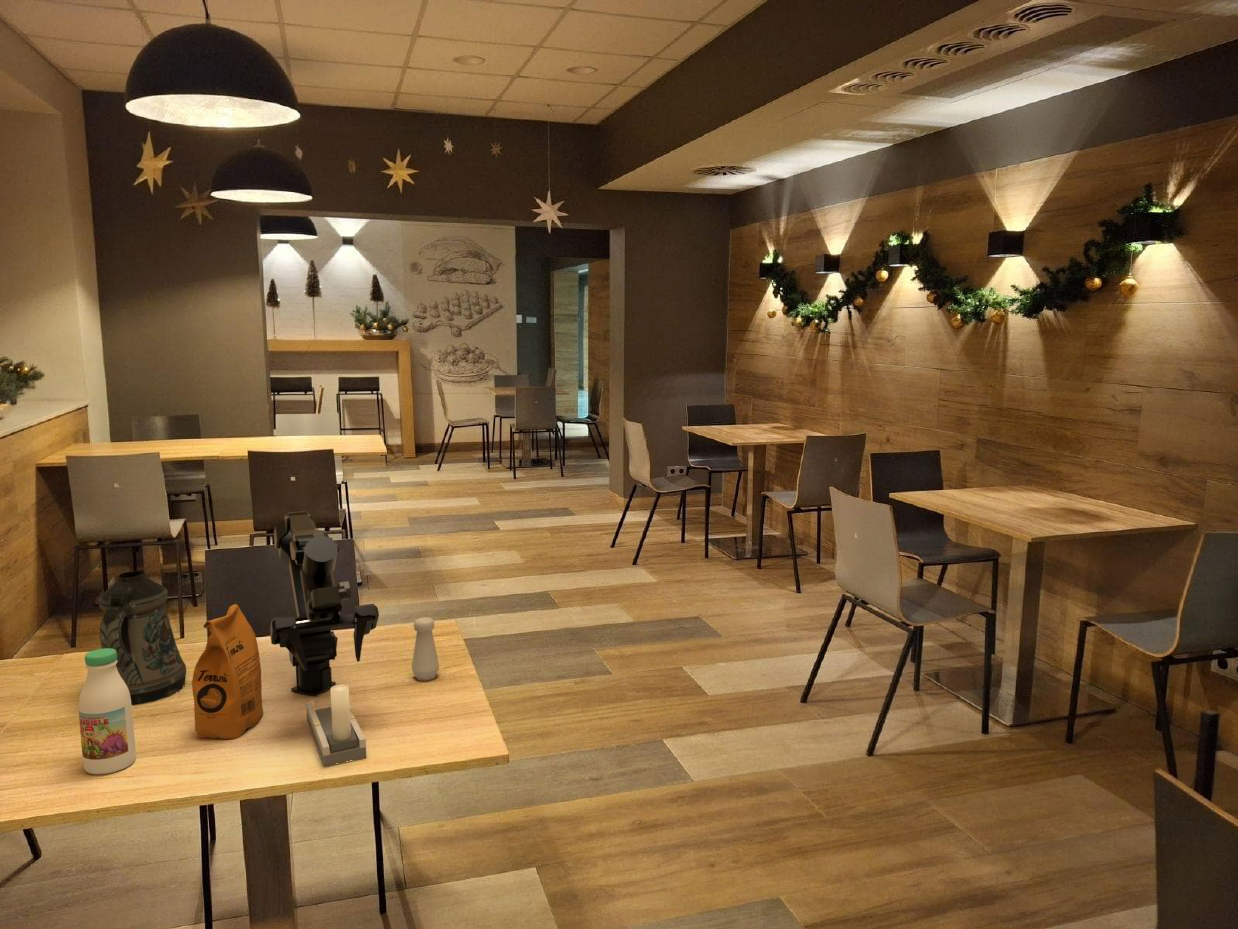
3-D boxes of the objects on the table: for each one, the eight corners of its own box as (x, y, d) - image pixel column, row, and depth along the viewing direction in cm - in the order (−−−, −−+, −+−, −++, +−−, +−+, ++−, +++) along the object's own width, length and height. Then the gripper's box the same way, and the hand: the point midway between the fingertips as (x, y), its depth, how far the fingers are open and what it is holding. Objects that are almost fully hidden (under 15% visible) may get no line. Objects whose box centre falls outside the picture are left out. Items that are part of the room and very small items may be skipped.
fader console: (307, 721, 162) (306, 703, 162) (345, 714, 166) (344, 696, 165) (324, 767, 145) (323, 746, 144) (366, 758, 148) (365, 737, 148)
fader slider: (327, 743, 149) (324, 686, 148) (353, 737, 151) (350, 681, 150) (331, 752, 146) (328, 694, 144) (357, 747, 148) (355, 689, 146)
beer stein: (182, 669, 189) (174, 559, 185) (194, 699, 172) (185, 579, 169) (94, 685, 180) (84, 570, 176) (98, 719, 164) (87, 592, 160)
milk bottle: (98, 755, 149) (88, 644, 146) (144, 753, 150) (135, 643, 147) (74, 777, 142) (63, 661, 139) (123, 775, 142) (113, 659, 140)
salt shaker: (432, 683, 181) (430, 624, 179) (407, 681, 182) (405, 622, 180) (443, 673, 186) (442, 615, 185) (419, 671, 188) (417, 614, 186)
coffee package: (185, 740, 155) (176, 623, 152) (222, 711, 167) (215, 602, 164) (238, 742, 154) (230, 624, 151) (271, 713, 166) (265, 603, 163)
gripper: (268, 574, 152) (279, 653, 144) (374, 562, 161) (390, 635, 153) (265, 606, 160) (276, 682, 152) (367, 592, 169) (382, 664, 161)
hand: (332, 665), depth 154 cm, fingers open, 9 cm apart
